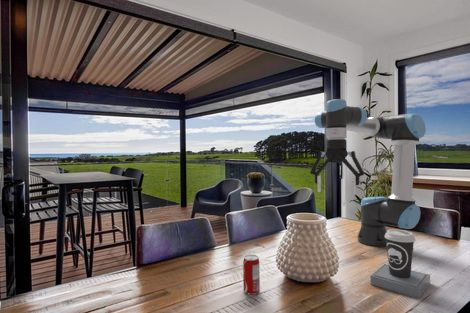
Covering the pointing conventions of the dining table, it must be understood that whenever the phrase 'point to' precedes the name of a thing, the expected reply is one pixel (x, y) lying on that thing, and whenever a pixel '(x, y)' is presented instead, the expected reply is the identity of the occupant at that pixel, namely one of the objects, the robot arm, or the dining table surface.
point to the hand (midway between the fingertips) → (336, 192)
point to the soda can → (251, 274)
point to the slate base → (401, 282)
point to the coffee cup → (399, 252)
